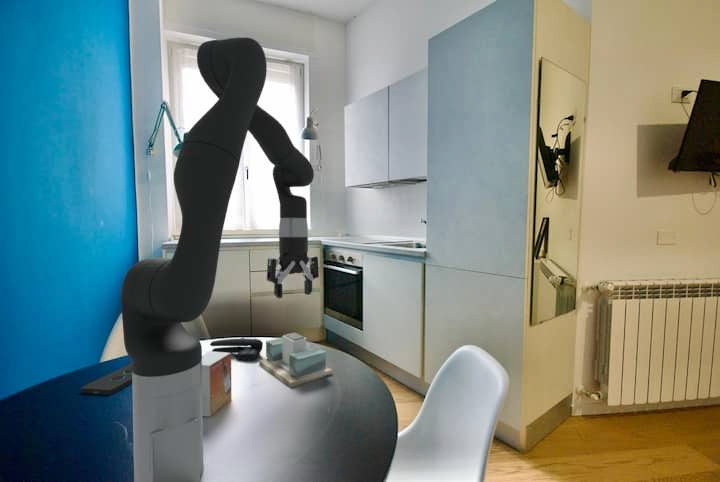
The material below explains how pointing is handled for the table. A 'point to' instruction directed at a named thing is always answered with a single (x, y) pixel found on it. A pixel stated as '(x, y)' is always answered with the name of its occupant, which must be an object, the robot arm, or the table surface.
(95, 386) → the smart home device
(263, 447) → the table surface
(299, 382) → the rail board
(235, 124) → the robot arm
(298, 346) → the block
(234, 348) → the can opener
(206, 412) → the small box
